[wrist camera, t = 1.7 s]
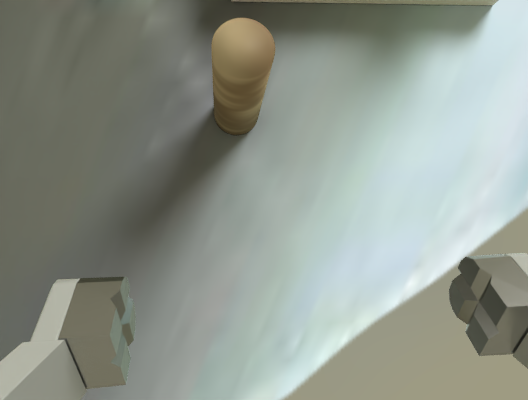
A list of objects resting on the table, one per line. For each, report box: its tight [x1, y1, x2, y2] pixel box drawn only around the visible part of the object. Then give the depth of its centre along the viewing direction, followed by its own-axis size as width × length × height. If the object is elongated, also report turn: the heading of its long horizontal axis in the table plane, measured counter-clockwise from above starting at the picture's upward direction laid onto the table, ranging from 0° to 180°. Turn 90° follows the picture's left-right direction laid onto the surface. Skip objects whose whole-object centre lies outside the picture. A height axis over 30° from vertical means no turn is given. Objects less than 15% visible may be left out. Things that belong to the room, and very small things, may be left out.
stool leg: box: [212, 18, 275, 135], centre depth 29 cm, size 4×4×11 cm
